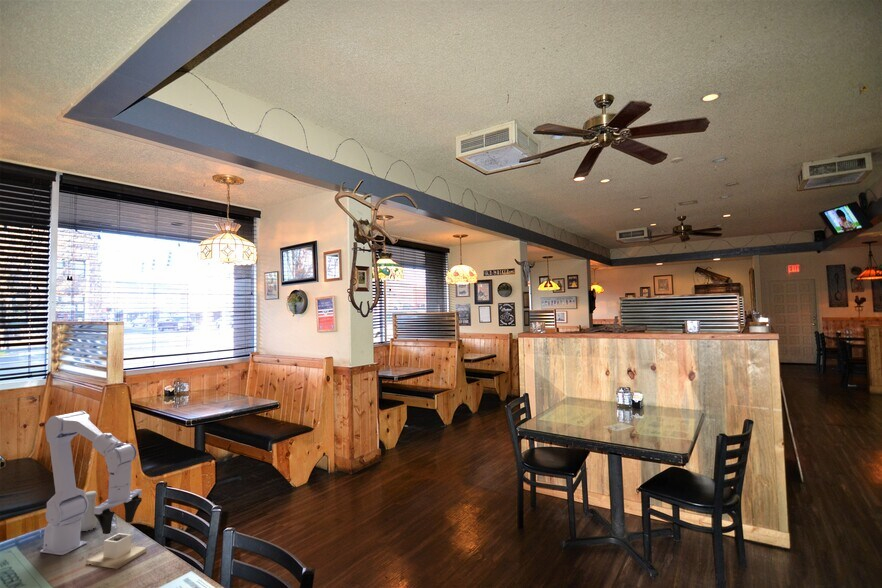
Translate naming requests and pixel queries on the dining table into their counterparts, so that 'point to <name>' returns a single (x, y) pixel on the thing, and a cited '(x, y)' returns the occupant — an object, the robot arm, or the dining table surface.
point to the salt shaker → (89, 513)
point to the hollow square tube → (117, 546)
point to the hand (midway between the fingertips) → (118, 527)
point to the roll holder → (118, 562)
